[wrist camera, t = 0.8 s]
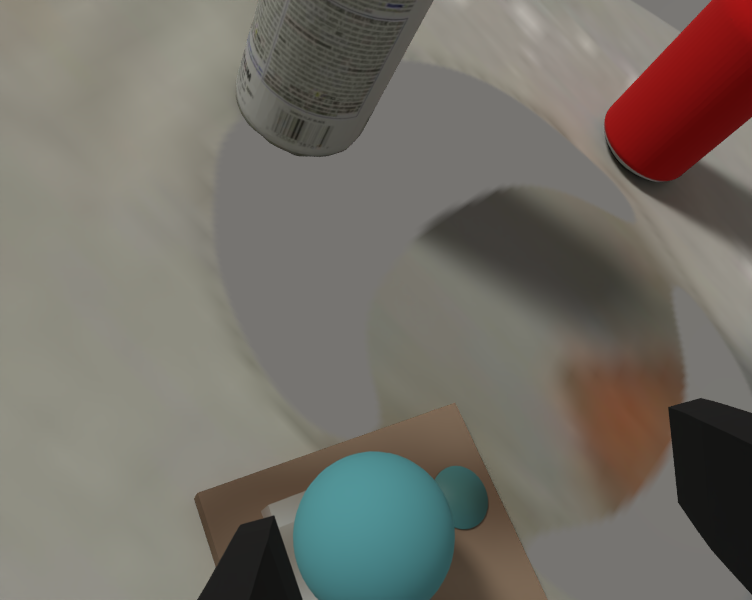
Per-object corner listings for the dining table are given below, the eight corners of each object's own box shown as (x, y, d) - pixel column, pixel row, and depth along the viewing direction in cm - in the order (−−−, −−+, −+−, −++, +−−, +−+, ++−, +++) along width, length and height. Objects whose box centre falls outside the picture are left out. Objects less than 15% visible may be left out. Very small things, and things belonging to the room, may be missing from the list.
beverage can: (686, 168, 44) (858, 26, 35) (646, 206, 41) (827, 58, 31) (621, 103, 45) (773, -55, 36) (577, 134, 42) (732, -32, 32)
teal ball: (435, 590, 23) (513, 570, 19) (307, 657, 21) (366, 650, 17) (379, 455, 25) (440, 410, 21) (253, 502, 22) (295, 462, 18)
